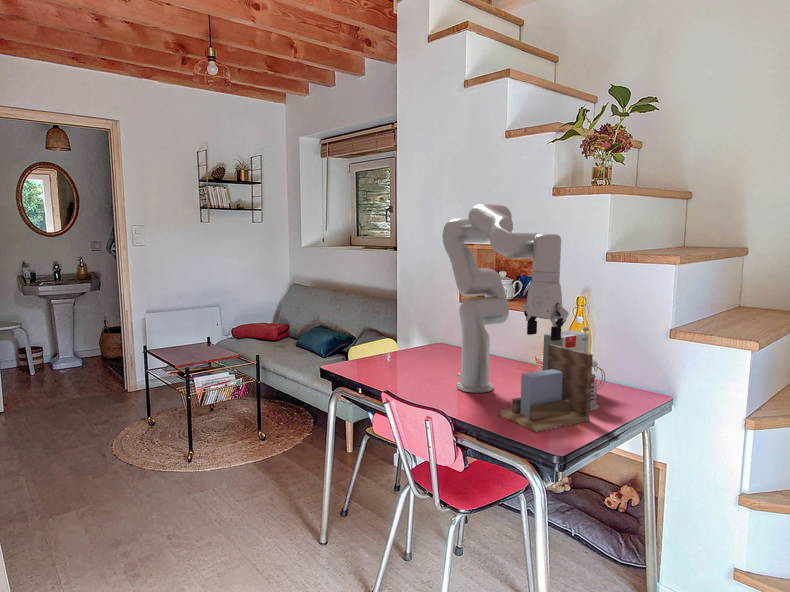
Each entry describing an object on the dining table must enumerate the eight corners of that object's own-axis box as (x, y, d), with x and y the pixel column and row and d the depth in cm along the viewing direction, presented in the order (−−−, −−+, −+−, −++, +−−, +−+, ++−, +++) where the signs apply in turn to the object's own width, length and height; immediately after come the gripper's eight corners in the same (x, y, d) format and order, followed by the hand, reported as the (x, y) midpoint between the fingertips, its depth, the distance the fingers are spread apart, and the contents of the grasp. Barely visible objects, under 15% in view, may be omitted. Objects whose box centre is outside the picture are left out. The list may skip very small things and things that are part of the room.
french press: (560, 400, 172) (563, 324, 170) (595, 399, 174) (598, 323, 171) (574, 410, 163) (577, 329, 160) (610, 409, 164) (614, 329, 161)
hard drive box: (559, 397, 176) (561, 337, 174) (540, 391, 183) (542, 334, 180) (587, 389, 186) (589, 332, 183) (568, 384, 192) (570, 329, 189)
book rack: (499, 414, 159) (500, 350, 157) (549, 405, 168) (552, 344, 166) (536, 432, 145) (538, 362, 142) (589, 420, 154) (592, 354, 152)
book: (520, 414, 155) (521, 373, 153) (551, 408, 160) (552, 369, 159) (529, 418, 151) (531, 377, 150) (561, 412, 157) (562, 372, 155)
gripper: (515, 275, 157) (513, 333, 159) (558, 280, 142) (555, 344, 144) (534, 275, 160) (532, 331, 163) (578, 279, 145) (575, 341, 147)
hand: (543, 337), depth 153 cm, fingers open, 9 cm apart
